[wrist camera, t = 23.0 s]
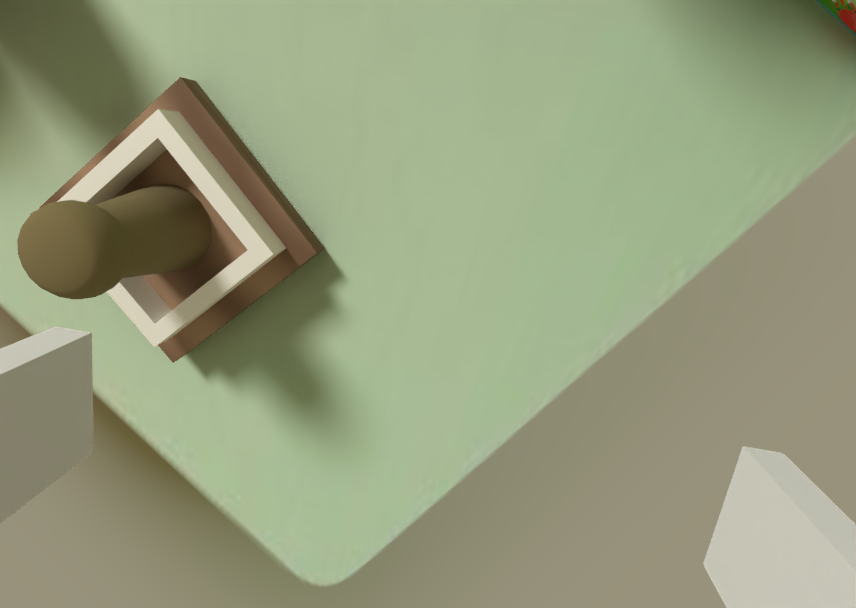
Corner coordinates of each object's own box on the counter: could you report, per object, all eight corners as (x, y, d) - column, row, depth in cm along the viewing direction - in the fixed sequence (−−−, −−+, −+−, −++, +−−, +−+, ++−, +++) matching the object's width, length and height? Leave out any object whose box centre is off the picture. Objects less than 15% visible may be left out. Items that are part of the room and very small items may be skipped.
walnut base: (195, 81, 38) (158, 71, 33) (324, 248, 40) (305, 259, 36) (60, 204, 41) (10, 210, 36) (186, 353, 43) (154, 375, 39)
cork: (110, 217, 39) (-30, 241, 28) (171, 164, 37) (48, 168, 27) (167, 287, 40) (54, 335, 29) (229, 238, 38) (133, 270, 28)
